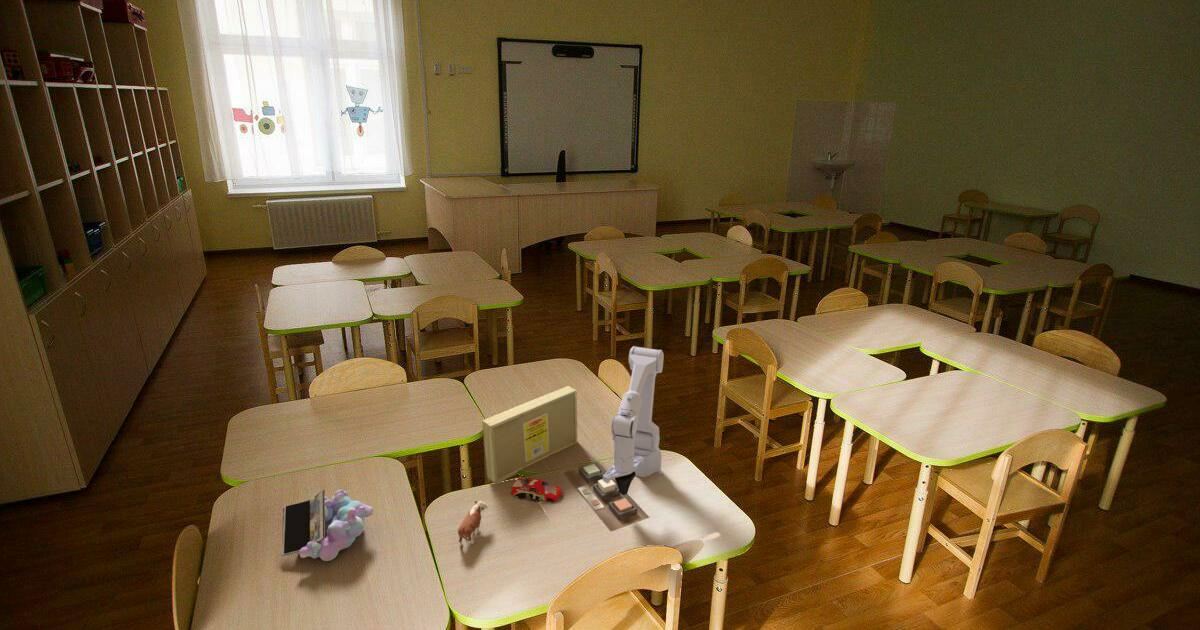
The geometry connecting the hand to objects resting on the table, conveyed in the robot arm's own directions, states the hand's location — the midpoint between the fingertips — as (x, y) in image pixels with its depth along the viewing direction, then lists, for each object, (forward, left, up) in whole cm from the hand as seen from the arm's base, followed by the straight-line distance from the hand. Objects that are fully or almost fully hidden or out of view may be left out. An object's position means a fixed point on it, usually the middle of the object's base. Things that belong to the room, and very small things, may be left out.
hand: (623, 492), depth 186 cm
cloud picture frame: (+78, -27, -8) cm, 83 cm away
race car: (+19, -20, -8) cm, 29 cm away
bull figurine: (+42, -12, -8) cm, 44 cm away
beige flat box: (+13, -38, -8) cm, 41 cm away
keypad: (+1, -10, -7) cm, 12 cm away
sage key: (0, -20, -6) cm, 21 cm away
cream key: (0, -10, -5) cm, 11 cm away
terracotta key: (0, 0, -6) cm, 6 cm away
